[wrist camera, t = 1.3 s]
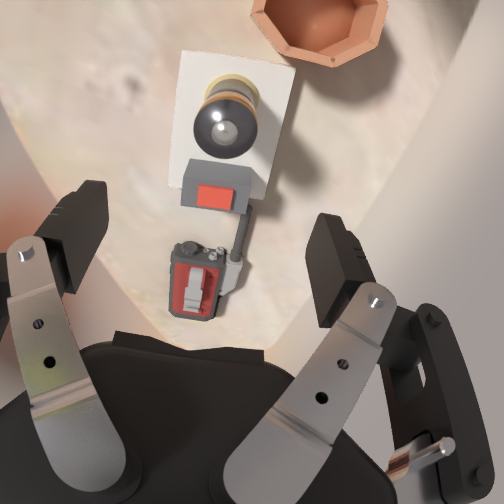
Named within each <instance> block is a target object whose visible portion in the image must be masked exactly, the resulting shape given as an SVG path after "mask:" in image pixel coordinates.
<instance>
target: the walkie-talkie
mask: <svg viewBox="0 0 504 504" xmlns="http://www.w3.org/2000/svg"><path fill="white" fill-rule="evenodd" d="M251 212H252V207H251V206H250V205H247V209H246V214H245V215H244V214H241V218H240V222H239V226H238V230H237V234H236V238H235V242H234V246H233V249H232V250H231V254H226V253H225V252H224V249H223V248H222V247H218V248H217V249H210V248H203V247H198V246H197V244H196V243H194V242H191V241H187V242H184V243H183V244H179V243H177V244H176V245H175V247H174V250H173V251H172V254H171V261H170V262H171V266H170V292H169V310H168V311H169V312H170V313H171V314H172V315H173V316H175V317H179V318H185V319H191V320H198V321H209V320H210V319H213V318H214V317H215V316H216V312H217V307H218V303H219V299H220V298H221V297H222V296H223V295H224V296H225V294H226V293H228V292H229V291H231V290H232V289H234V288H235V287H236V284H237V281H238V277H239V274H240V271H241V270H242V267H243V256H241V254H242V252H241V250H242V246H243V242H244V239H245V235H246V231H247V227H248V224H249V220H250V216H251Z"/></svg>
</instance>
